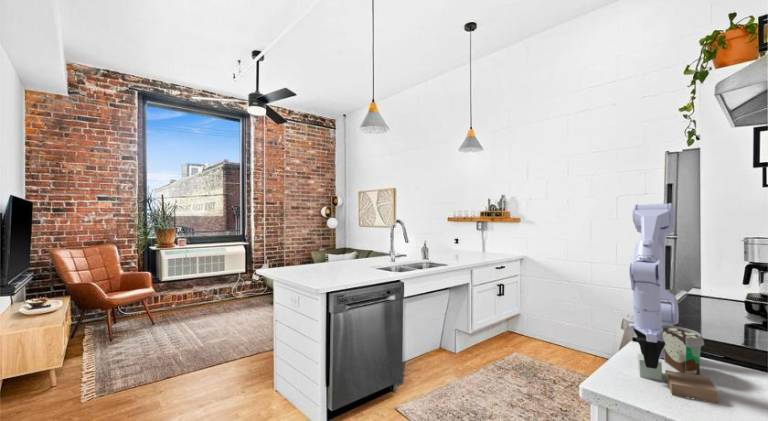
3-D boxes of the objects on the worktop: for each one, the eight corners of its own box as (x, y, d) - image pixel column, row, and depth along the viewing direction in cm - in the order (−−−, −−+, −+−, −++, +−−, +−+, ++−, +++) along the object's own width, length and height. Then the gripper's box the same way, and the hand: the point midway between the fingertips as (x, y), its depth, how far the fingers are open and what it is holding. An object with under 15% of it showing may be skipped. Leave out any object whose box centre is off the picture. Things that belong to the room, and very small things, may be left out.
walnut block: (666, 382, 90) (665, 370, 90) (708, 389, 86) (707, 376, 86) (672, 396, 83) (671, 383, 83) (718, 405, 79) (718, 391, 79)
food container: (718, 381, 89) (716, 340, 89) (689, 379, 90) (687, 339, 90) (687, 361, 101) (685, 325, 101) (661, 360, 102) (660, 324, 102)
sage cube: (638, 370, 96) (637, 353, 96) (659, 374, 94) (658, 356, 94) (640, 377, 92) (639, 359, 92) (662, 381, 90) (661, 362, 90)
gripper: (626, 301, 102) (628, 350, 101) (630, 313, 89) (633, 369, 89) (657, 303, 98) (659, 354, 98) (666, 317, 85) (669, 375, 85)
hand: (649, 362), depth 93 cm, fingers open, 7 cm apart
